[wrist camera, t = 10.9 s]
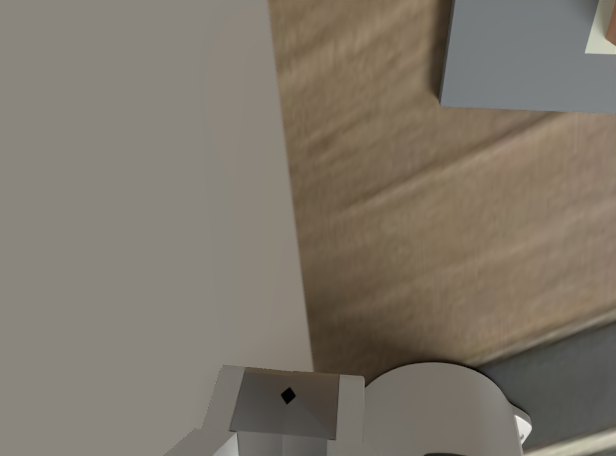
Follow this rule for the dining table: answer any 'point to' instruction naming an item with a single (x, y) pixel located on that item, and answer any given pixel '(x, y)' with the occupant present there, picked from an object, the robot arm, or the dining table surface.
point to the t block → (612, 28)
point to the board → (530, 56)
